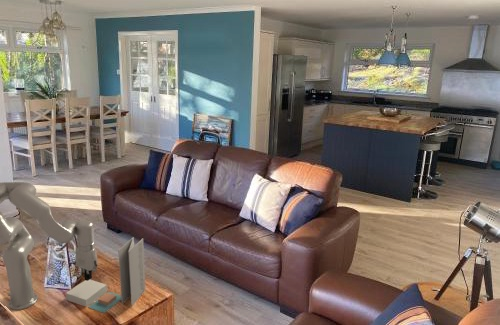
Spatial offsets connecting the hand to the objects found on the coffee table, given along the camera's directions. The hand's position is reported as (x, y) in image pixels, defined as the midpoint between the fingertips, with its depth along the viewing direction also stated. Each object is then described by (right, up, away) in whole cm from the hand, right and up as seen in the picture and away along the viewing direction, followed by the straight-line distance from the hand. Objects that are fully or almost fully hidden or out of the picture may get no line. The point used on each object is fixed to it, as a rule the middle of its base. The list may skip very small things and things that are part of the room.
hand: (88, 279), depth 188 cm
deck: (-2, -10, +4) cm, 10 cm away
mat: (+9, -11, -1) cm, 15 cm away
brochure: (+22, -11, +4) cm, 24 cm away
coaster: (+10, -9, -1) cm, 13 cm away
